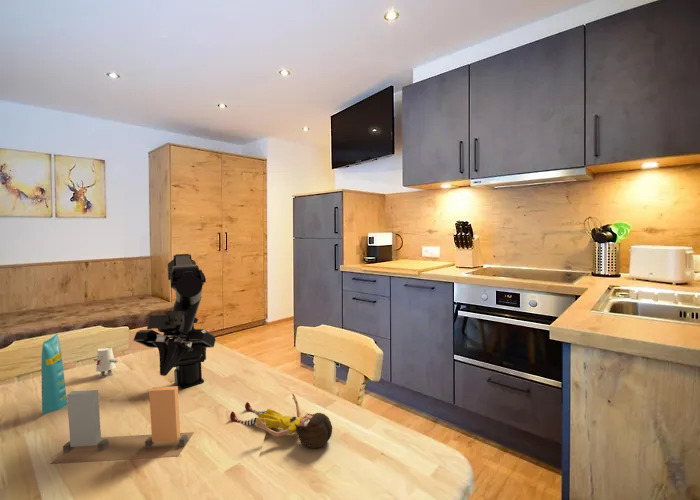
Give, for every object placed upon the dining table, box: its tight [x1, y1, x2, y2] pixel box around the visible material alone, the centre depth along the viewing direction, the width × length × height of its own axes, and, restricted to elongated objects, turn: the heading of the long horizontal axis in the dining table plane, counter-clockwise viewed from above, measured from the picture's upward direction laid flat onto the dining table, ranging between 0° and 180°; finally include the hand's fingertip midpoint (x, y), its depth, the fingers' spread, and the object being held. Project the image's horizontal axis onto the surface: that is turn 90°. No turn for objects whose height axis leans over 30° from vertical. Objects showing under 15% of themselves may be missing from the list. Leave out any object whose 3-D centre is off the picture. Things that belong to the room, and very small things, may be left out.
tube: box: [40, 332, 68, 416], centre depth 87 cm, size 7×5×19 cm, turn 26°
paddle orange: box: [148, 385, 181, 442], centre depth 71 cm, size 2×5×11 cm, turn 94°
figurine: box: [229, 393, 333, 450], centre depth 77 cm, size 13×8×25 cm
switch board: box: [50, 431, 195, 465], centre depth 71 cm, size 8×24×2 cm, turn 94°
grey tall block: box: [66, 389, 102, 447], centre depth 70 cm, size 2×5×11 cm, turn 94°
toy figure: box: [90, 346, 119, 378], centre depth 109 cm, size 12×6×8 cm, turn 75°
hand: (162, 375), depth 79 cm, fingers closed
